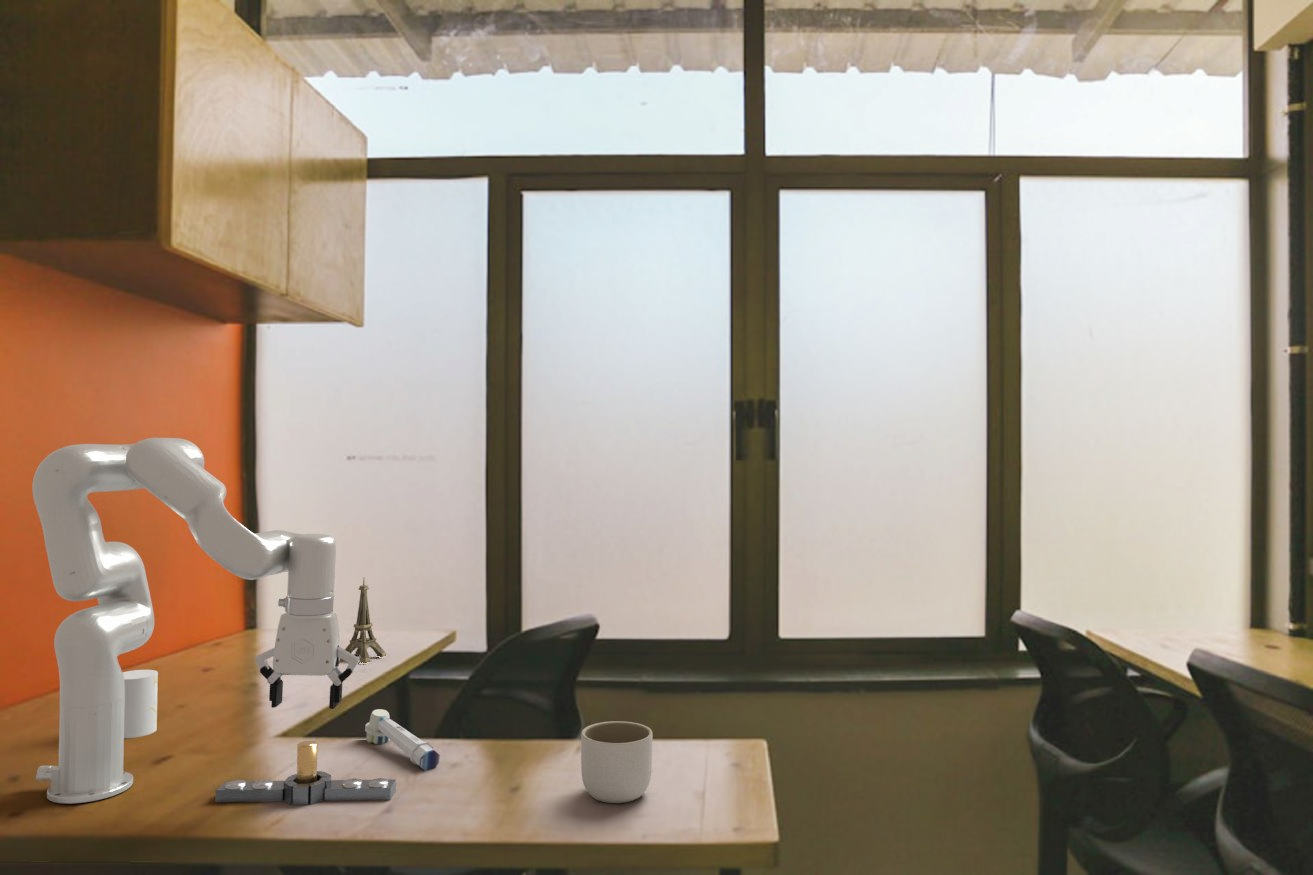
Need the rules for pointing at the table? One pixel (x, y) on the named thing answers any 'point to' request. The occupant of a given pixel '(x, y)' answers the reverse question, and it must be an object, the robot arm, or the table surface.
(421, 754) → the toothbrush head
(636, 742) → the planter
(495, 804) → the table surface
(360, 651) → the eiffel tower
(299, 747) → the pin
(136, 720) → the cup
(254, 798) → the studded octagon ring bar
